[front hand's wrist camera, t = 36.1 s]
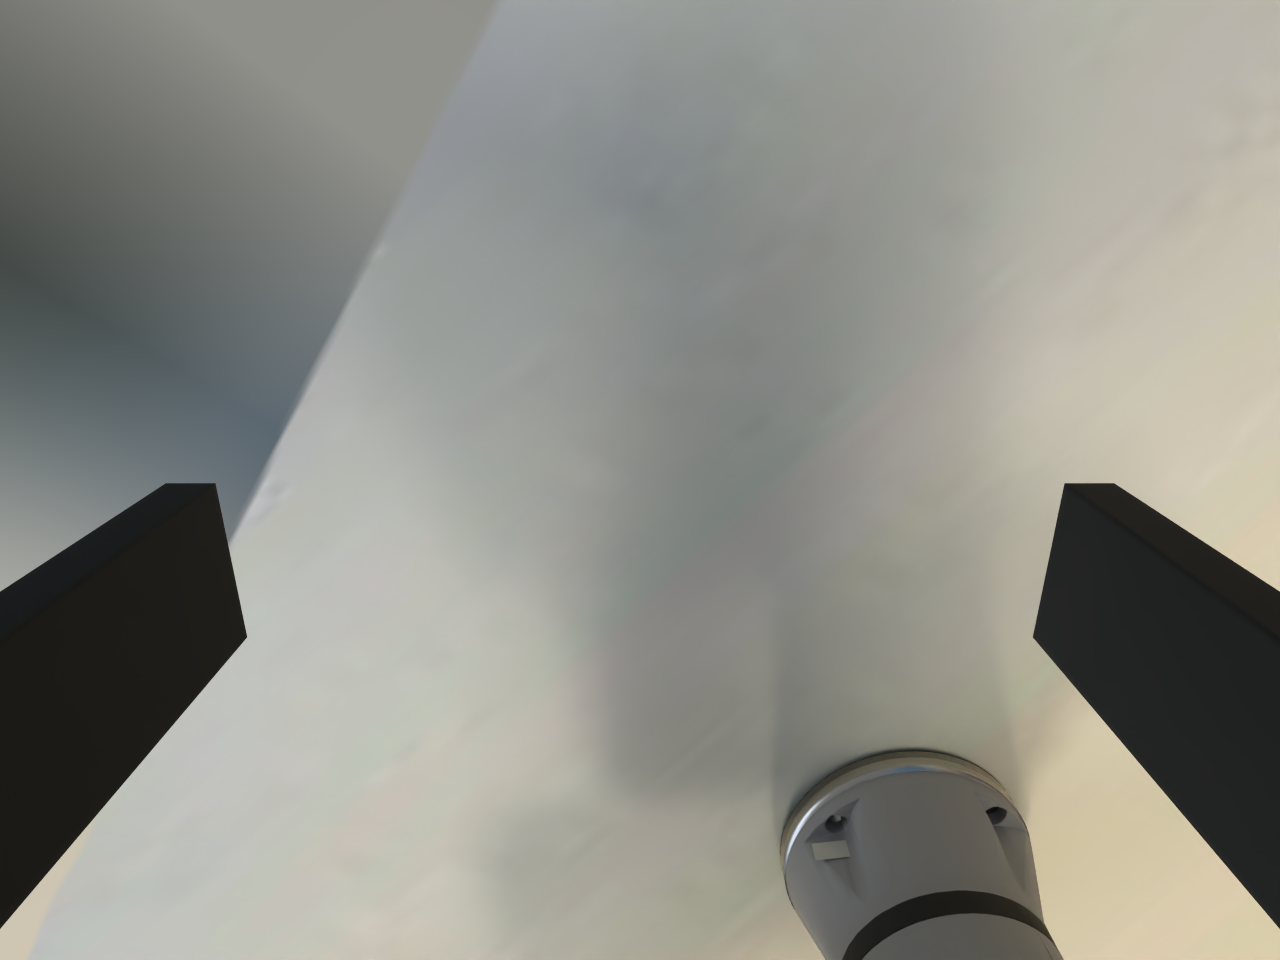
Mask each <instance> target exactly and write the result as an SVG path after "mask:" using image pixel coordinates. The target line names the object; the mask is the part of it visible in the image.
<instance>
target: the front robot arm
mask: <svg viewBox="0 0 1280 960" xmlns="http://www.w3.org/2000/svg"><path fill="white" fill-rule="evenodd" d="M246 638H247V634H246V629H245V625H244V620H243V615H242V610H241V605H240V600H239V596H238V591H237V586H236V581H235V576H234V571H233V567H232V562H231V557H230V552H229V547H228V542H227V537H226V533H225V528H224V523H223V518H222V513H221V509H220V504H219V499H218V494H217V489H216V484H215V483H166V484H164V485H163V486H161V487H160V488H158V489H157V490H155V491H153V492H152V493H151V494H149V495H147V496H146V497H144V498H143V499H141V500H140V501H138V502H137V503H135V504H134V505H132V506H131V507H129V508H128V509H126V510H124V511H123V512H121V513H120V514H118V515H117V516H115V517H114V518H112V519H111V520H109V521H108V522H106V523H105V524H103V525H102V526H100V527H98V528H97V529H95V530H94V531H92V532H91V533H89V534H88V535H86V536H85V537H83V538H82V539H80V540H79V541H77V542H76V543H74V544H72V545H71V546H69V547H68V548H66V549H65V550H63V551H62V552H60V553H59V554H57V555H56V556H54V557H53V558H51V559H50V560H48V561H47V562H45V563H43V564H42V565H40V566H39V567H37V568H36V569H34V570H33V571H31V572H30V573H28V574H27V575H25V576H24V577H22V578H21V579H19V580H18V581H16V582H14V583H13V584H11V585H10V586H8V587H7V588H5V589H4V590H2V591H1V592H0V928H1V927H2V926H3V925H4V924H5V922H6V921H7V920H8V919H9V918H10V917H11V915H12V914H13V913H14V912H15V911H16V909H17V908H18V907H19V906H20V905H21V904H22V902H23V901H24V900H25V899H26V898H27V896H28V895H29V894H30V893H31V892H32V891H33V889H34V888H35V887H36V886H37V885H38V884H39V882H40V881H41V880H42V879H43V878H44V876H45V875H46V874H47V873H48V872H49V871H50V869H51V868H52V867H53V866H54V865H55V863H56V862H57V861H58V860H59V859H60V857H61V856H62V855H63V854H64V853H65V852H66V850H67V849H68V848H69V847H70V846H71V845H72V843H73V842H74V841H75V840H76V839H77V837H78V836H79V835H80V834H81V833H82V831H83V830H84V829H85V828H86V827H87V826H88V824H89V823H90V822H91V821H92V820H93V819H94V817H95V816H96V815H97V814H98V813H99V811H100V810H101V809H102V808H103V807H104V806H105V804H106V803H107V802H108V801H109V800H110V798H111V797H112V796H113V795H114V794H115V793H116V791H117V790H118V789H119V788H120V787H121V785H122V784H123V783H124V782H125V781H126V780H127V778H128V777H129V776H130V775H131V774H132V773H133V771H134V770H135V769H136V768H137V767H138V765H139V764H140V763H141V762H142V761H143V760H144V758H145V757H146V756H147V755H148V754H149V752H150V751H151V750H152V749H153V748H154V747H155V745H156V744H157V743H158V742H159V741H160V739H161V738H162V737H163V736H164V735H165V734H166V732H167V731H168V730H169V729H170V728H171V726H172V725H173V724H174V723H175V722H176V721H177V719H178V718H179V717H180V716H181V715H182V713H183V712H184V711H185V710H186V709H187V708H188V706H189V705H190V704H191V703H192V702H193V700H194V699H195V698H196V697H197V696H198V695H199V693H200V692H201V691H202V690H203V689H204V687H205V686H206V685H207V684H208V683H209V682H210V680H211V679H212V678H213V677H214V676H215V674H216V673H217V672H218V671H219V670H220V669H221V667H222V666H223V665H224V664H225V663H226V662H227V660H228V659H229V658H230V657H231V656H232V654H233V653H234V652H235V651H236V650H237V649H238V647H239V646H240V645H241V644H242V643H243V641H244V640H245V639H246ZM1033 638H1034V639H1035V640H1036V641H1037V643H1038V644H1039V645H1040V646H1041V647H1042V649H1043V650H1044V651H1045V652H1046V653H1047V654H1048V656H1049V657H1050V658H1051V659H1052V660H1053V662H1054V663H1055V664H1056V665H1057V666H1058V667H1059V669H1060V670H1061V671H1062V672H1063V673H1064V674H1065V676H1066V677H1067V678H1068V679H1069V680H1070V682H1071V683H1072V684H1073V685H1074V686H1075V687H1076V689H1077V690H1078V691H1079V692H1080V693H1081V695H1082V696H1083V697H1084V698H1085V699H1086V700H1087V702H1088V703H1089V704H1090V705H1091V706H1092V708H1093V709H1094V710H1095V711H1096V712H1097V713H1098V715H1099V716H1100V717H1101V718H1102V719H1103V721H1104V722H1105V723H1106V724H1107V725H1108V726H1109V728H1110V729H1111V730H1112V731H1113V732H1114V734H1115V735H1116V736H1117V737H1118V738H1119V739H1120V741H1121V742H1122V743H1123V744H1124V745H1125V747H1126V748H1127V749H1128V750H1129V751H1130V752H1131V754H1132V755H1133V756H1134V757H1135V758H1136V760H1137V761H1138V762H1139V763H1140V764H1141V765H1142V767H1143V768H1144V769H1145V770H1146V771H1147V773H1148V774H1149V775H1150V776H1151V777H1152V778H1153V780H1154V781H1155V782H1156V783H1157V784H1158V785H1159V787H1160V788H1161V789H1162V790H1163V791H1164V793H1165V794H1166V795H1167V796H1168V797H1169V798H1170V800H1171V801H1172V802H1173V803H1174V804H1175V806H1176V807H1177V808H1178V809H1179V810H1180V811H1181V813H1182V814H1183V815H1184V816H1185V817H1186V819H1187V820H1188V821H1189V822H1190V823H1191V824H1192V826H1193V827H1194V828H1195V829H1196V830H1197V832H1198V833H1199V834H1200V835H1201V836H1202V837H1203V839H1204V840H1205V841H1206V842H1207V843H1208V845H1209V846H1210V847H1211V848H1212V849H1213V850H1214V852H1215V853H1216V854H1217V855H1218V856H1219V858H1220V859H1221V860H1222V861H1223V862H1224V863H1225V865H1226V866H1227V867H1228V868H1229V869H1230V871H1231V872H1232V873H1233V874H1234V875H1235V876H1236V878H1237V879H1238V880H1239V881H1240V882H1241V884H1242V885H1243V886H1244V887H1245V888H1246V889H1247V891H1248V892H1249V893H1250V894H1251V895H1252V896H1253V898H1254V899H1255V900H1256V901H1257V902H1258V904H1259V905H1260V906H1261V907H1262V908H1263V909H1264V911H1265V912H1266V913H1267V914H1268V915H1269V917H1270V918H1271V919H1272V920H1273V921H1274V922H1275V924H1276V925H1277V926H1278V927H1279V928H1280V592H1279V591H1278V590H1276V589H1275V588H1273V587H1272V586H1270V585H1269V584H1267V583H1266V582H1264V581H1263V580H1261V579H1260V578H1258V577H1256V576H1255V575H1253V574H1252V573H1250V572H1249V571H1247V570H1246V569H1244V568H1243V567H1241V566H1240V565H1238V564H1237V563H1235V562H1234V561H1232V560H1230V559H1229V558H1227V557H1226V556H1224V555H1223V554H1221V553H1220V552H1218V551H1217V550H1215V549H1214V548H1212V547H1211V546H1209V545H1208V544H1206V543H1204V542H1203V541H1201V540H1200V539H1198V538H1197V537H1195V536H1194V535H1192V534H1191V533H1189V532H1188V531H1186V530H1185V529H1183V528H1182V527H1180V526H1178V525H1177V524H1175V523H1174V522H1172V521H1171V520H1169V519H1168V518H1166V517H1165V516H1163V515H1162V514H1160V513H1159V512H1157V511H1156V510H1154V509H1153V508H1151V507H1149V506H1148V505H1146V504H1145V503H1143V502H1142V501H1140V500H1139V499H1137V498H1136V497H1134V496H1133V495H1131V494H1130V493H1128V492H1127V491H1125V490H1123V489H1122V488H1120V487H1119V486H1117V485H1116V484H1114V483H1065V484H1064V489H1063V494H1062V499H1061V504H1060V508H1059V513H1058V518H1057V523H1056V528H1055V533H1054V537H1053V542H1052V547H1051V552H1050V557H1049V562H1048V567H1047V571H1046V576H1045V581H1044V586H1043V591H1042V596H1041V600H1040V605H1039V610H1038V615H1037V620H1036V625H1035V629H1034V634H1033ZM780 855H781V865H782V870H783V874H784V879H785V884H786V889H787V893H788V896H789V899H790V901H791V903H792V905H793V907H794V909H795V911H796V913H797V915H798V916H799V918H800V919H801V921H802V923H803V924H804V926H805V927H806V929H807V931H808V932H809V934H810V935H811V937H812V939H813V940H814V942H815V943H816V945H817V947H818V948H819V950H820V951H821V953H822V955H823V956H824V958H825V959H826V960H1064V959H1063V957H1062V956H1061V954H1060V952H1059V950H1058V949H1057V947H1056V945H1055V943H1054V941H1053V939H1052V937H1051V936H1050V934H1049V932H1048V930H1047V928H1046V926H1045V924H1044V920H1043V914H1042V908H1041V902H1040V896H1039V889H1038V883H1037V877H1036V871H1035V865H1034V859H1033V853H1032V847H1031V842H1030V838H1029V833H1028V830H1027V827H1026V825H1025V823H1024V821H1023V819H1022V817H1021V815H1020V814H1019V812H1018V810H1017V809H1016V807H1015V805H1014V803H1013V802H1012V800H1011V798H1010V797H1009V795H1008V794H1007V792H1006V791H1005V789H1004V788H1003V787H1002V786H1001V785H1000V784H999V783H998V782H997V781H996V780H995V779H994V778H993V777H992V776H991V775H989V774H988V773H986V772H985V771H984V770H982V769H980V768H979V767H977V766H975V765H973V764H971V763H969V762H967V761H964V760H962V759H959V758H956V757H953V756H949V755H944V754H939V753H933V752H921V751H905V752H894V753H888V754H882V755H878V756H874V757H870V758H866V759H863V760H861V761H858V762H855V763H853V764H850V765H848V766H846V767H844V768H842V769H840V770H838V771H836V772H834V773H833V774H831V775H830V776H828V777H827V778H825V779H824V780H822V781H821V782H820V783H818V784H817V785H816V786H815V787H814V788H813V789H811V790H810V791H809V792H808V793H807V794H806V795H805V796H804V798H803V799H802V800H801V801H800V802H799V804H798V805H797V806H796V808H795V809H794V811H793V812H792V814H791V816H790V817H789V820H788V822H787V824H786V826H785V829H784V833H783V836H782V841H781V851H780Z"/></svg>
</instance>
